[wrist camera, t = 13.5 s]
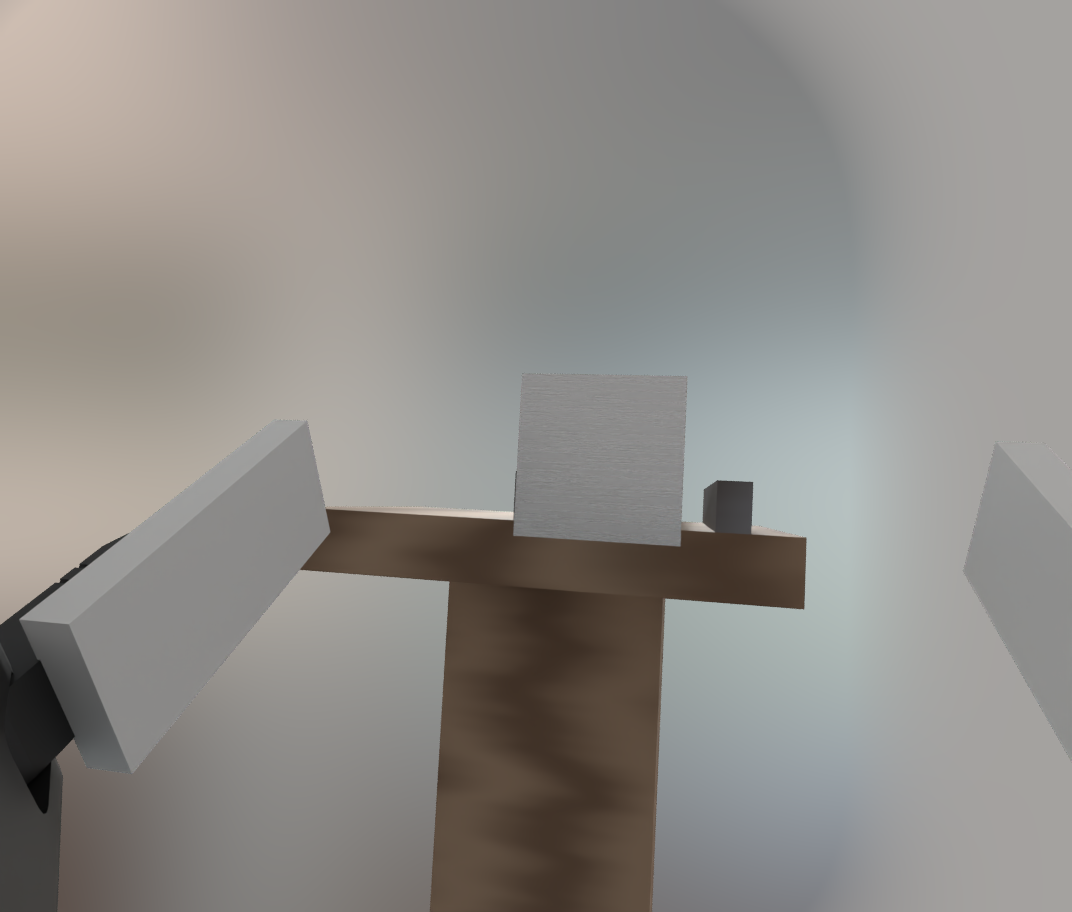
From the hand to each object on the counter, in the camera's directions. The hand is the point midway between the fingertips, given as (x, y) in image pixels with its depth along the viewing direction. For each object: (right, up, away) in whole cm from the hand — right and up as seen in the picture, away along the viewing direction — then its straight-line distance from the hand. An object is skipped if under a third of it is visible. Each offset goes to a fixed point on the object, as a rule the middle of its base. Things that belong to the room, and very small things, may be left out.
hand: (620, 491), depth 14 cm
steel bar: (+2, -2, +10) cm, 11 cm away
